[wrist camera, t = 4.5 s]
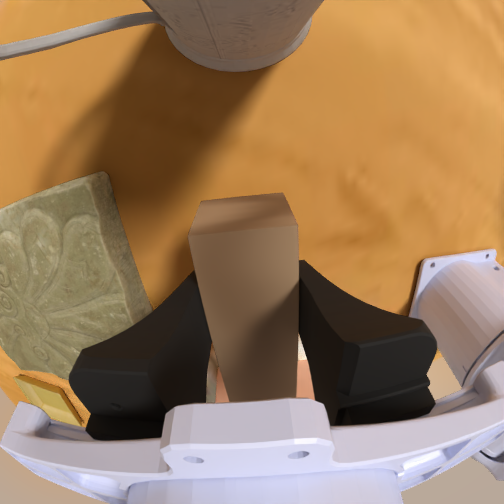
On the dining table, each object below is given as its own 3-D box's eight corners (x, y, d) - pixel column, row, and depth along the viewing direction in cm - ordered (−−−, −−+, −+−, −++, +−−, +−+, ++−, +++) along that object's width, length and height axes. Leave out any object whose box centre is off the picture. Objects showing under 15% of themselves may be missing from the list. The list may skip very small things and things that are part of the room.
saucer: (41, 403, 30) (37, 413, 28) (18, 366, 26) (11, 377, 24) (87, 418, 30) (83, 429, 29) (65, 382, 27) (59, 394, 25)
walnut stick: (282, 192, 12) (298, 225, 9) (288, 373, 18) (295, 417, 15) (201, 201, 12) (187, 235, 9) (235, 377, 18) (235, 422, 15)
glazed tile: (308, 359, 24) (323, 425, 18) (307, 370, 25) (321, 434, 18) (217, 367, 24) (213, 434, 18) (220, 378, 25) (217, 443, 18)
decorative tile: (-35, 224, 17) (-57, 239, 14) (110, 164, 16) (83, 176, 13) (37, 364, 26) (25, 384, 22) (182, 368, 25) (176, 398, 22)
